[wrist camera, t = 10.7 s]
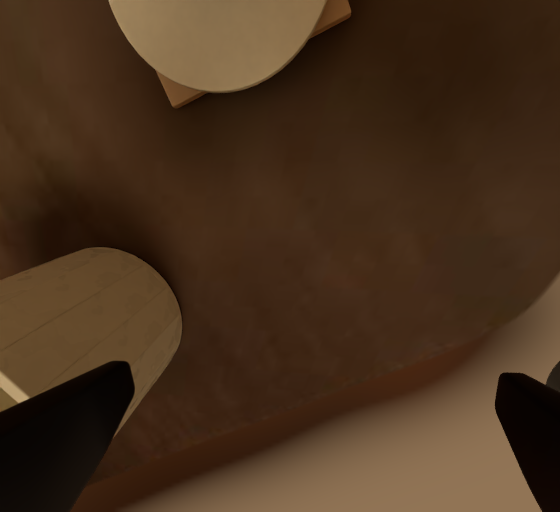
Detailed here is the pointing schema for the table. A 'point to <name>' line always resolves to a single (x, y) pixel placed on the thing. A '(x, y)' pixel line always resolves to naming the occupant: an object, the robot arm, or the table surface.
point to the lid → (218, 38)
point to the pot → (85, 323)
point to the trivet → (331, 16)
